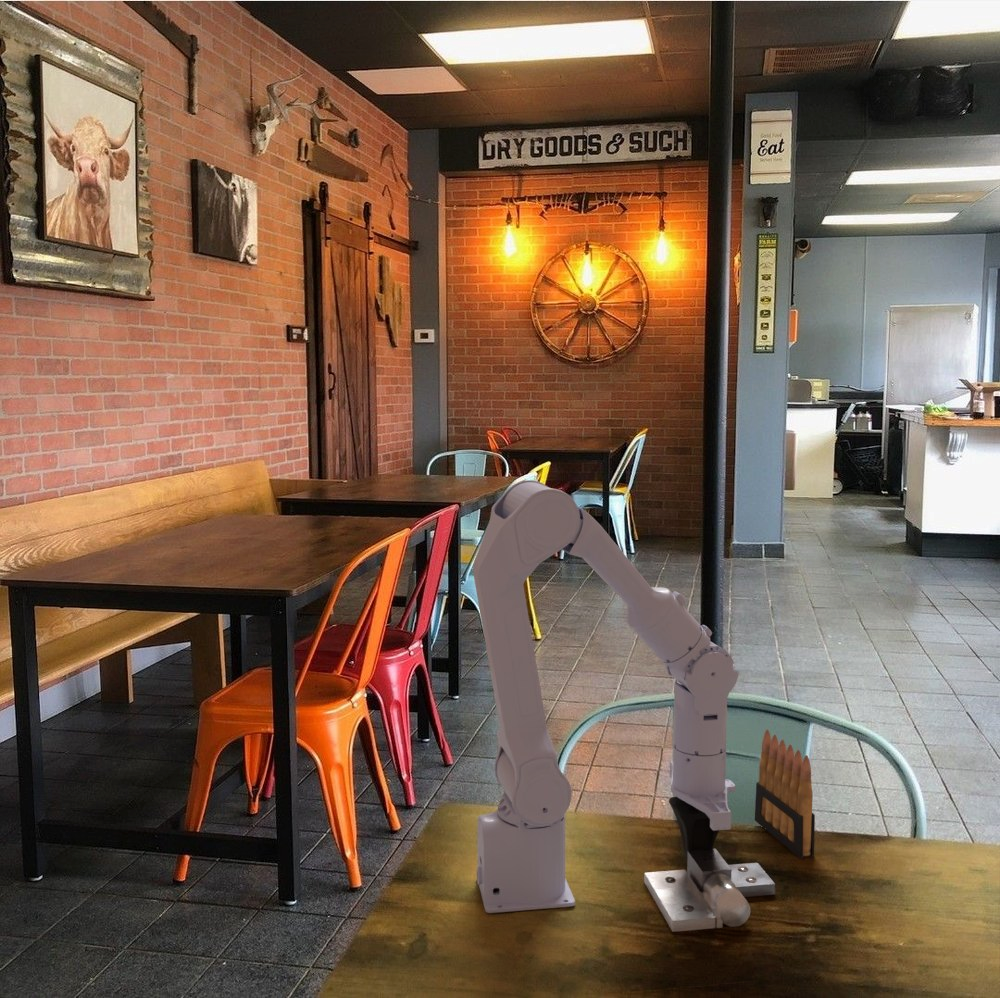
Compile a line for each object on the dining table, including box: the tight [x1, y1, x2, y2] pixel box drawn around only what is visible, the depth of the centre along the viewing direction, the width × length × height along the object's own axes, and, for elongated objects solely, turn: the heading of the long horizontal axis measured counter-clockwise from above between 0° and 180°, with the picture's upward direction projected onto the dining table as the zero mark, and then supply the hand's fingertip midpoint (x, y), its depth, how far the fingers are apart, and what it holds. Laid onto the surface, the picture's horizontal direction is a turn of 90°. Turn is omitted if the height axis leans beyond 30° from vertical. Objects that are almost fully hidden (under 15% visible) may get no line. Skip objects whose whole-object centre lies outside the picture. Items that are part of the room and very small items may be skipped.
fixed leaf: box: [643, 869, 751, 933], centre depth 107 cm, size 8×10×3 cm
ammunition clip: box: [754, 729, 816, 859], centre depth 122 cm, size 11×2×12 cm, turn 15°
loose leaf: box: [686, 848, 776, 898], centre depth 111 cm, size 8×5×3 cm, turn 98°
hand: (697, 864), depth 114 cm, fingers closed
